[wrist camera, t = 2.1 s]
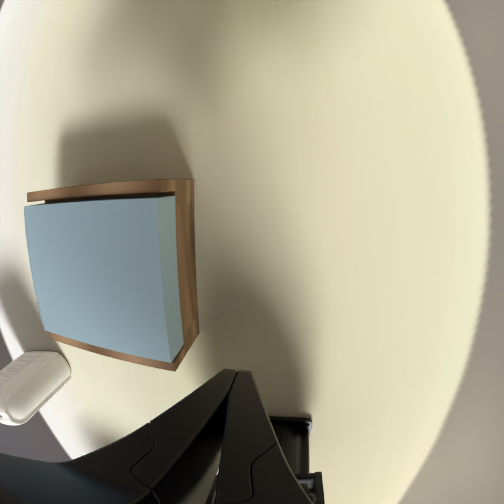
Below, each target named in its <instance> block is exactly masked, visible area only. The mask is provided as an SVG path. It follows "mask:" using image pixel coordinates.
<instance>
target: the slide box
mask: <svg viewBox="0 0 504 504" xmlns="http://www.w3.org/2000/svg"><path fill="white" fill-rule="evenodd" d="M155 196H175V217H176V248H177V268H178V285H179V298H180V311H181V322H182V332H183V342H184V344H183V346H182V347H181V349H180V351H179V352H178V354H177V355H176V357H175V358H174V360H173V361H172V363H169V362H164V361H159V360H154V359H149V358H144V357H139V356H135V355H130V354H126V353H121V352H117V351H113V350H109V349H105V348H102V347H98V346H94V345H90V344H87V343H83V342H80V341H77V340H73V339H70V338H67V337H64V336H60V335H57V334H54V333H51V332H49V335H50V338H51V339H53V340H56V341H59V342H62V343H65V344H68V345H71V346H74V347H77V348H80V349H84V350H87V351H90V352H94V353H97V354H101V355H104V356H108V357H112V358H116V359H120V360H124V361H128V362H132V363H136V364H141V365H145V366H150V367H155V368H159V369H165V370H170V371H176V370H177V368H178V366H179V365H180V363H181V362H182V360H183V358H184V357H185V355H186V353H187V352H188V350H189V348H190V347H191V345H192V344H193V342H194V340H195V339H196V337H197V335H198V334H199V324H198V309H197V291H196V269H195V236H194V180H179V179H155V180H139V181H124V182H112V183H101V184H91V185H82V186H73V187H65V188H57V189H49V190H42V191H36V192H29V193H27V202H32V201H41V200H45V203H53V202H64V201H77V200H91V199H107V198H128V197H155Z"/></svg>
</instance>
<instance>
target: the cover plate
mask: <svg viewBox="0 0 504 504" xmlns="http://www.w3.org/2000/svg"><path fill="white" fill-rule="evenodd" d="M24 215H25V228H26V238H27V247H28V254H29V261H30V267H31V273H32V279H33V284H34V289H35V294H36V298H37V303H38V307H39V311H40V315H41V319H42V323H43V326H44V330H45V331H48V332H51V333H54V334H57V335H60V336H64V337H67V338H70V339H73V340H77V341H80V342H83V343H87V344H90V345H94V346H98V347H102V348H105V349H109V350H113V351H117V352H121V353H126V354H130V355H135V356H139V357H144V358H149V359H154V360H159V361H164V362H169V363H172V361H173V360H174V358H175V357H176V355H177V354H178V352H179V351H180V349H181V347H182V346H183V344H184V342H183V332H182V322H181V311H180V298H179V285H178V268H177V248H176V217H175V196H155V197H128V198H107V199H91V200H77V201H64V202H53V203H43V204H37V205H31V206H25V207H24Z"/></svg>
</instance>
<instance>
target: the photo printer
mask: <svg viewBox="0 0 504 504" xmlns="http://www.w3.org/2000/svg"><path fill="white" fill-rule="evenodd" d="M70 374H71V370H70V367H69V365H68V363H67V362H66V360H65V359H64V358H63V357H62V356H61V355H59V354H58V353H57V352H51V351H30V352H26V353H24V354H22V355H21V356H19V357H18V358H17V359H15V360H14V361H13V362H11V363H10V364H9V365H7V366H6V367H5V368H4V369H2V370H1V371H0V423H3V424H7V425H20V424H23V423H25V422H27V421H28V420H29V419H30V418H31V417H32V416H33V415H34V414H35V413H36V412H37V411H38V410H39V409H40V408H41V407H42V406H43V405H44V404H45V403H46V402H47V401H48V400H49V399H50V398H52V397H53V396H54V395H55V394H56V393H57V392H58V391H59V390H60V389H61V388H62V387H63V386H64V385H65V384H66V383H67V382H68V381H69V380H70V378H71V375H70Z"/></svg>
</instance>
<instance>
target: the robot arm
mask: <svg viewBox="0 0 504 504" xmlns="http://www.w3.org/2000/svg"><path fill="white" fill-rule="evenodd" d="M311 428H312V420H311V419H308V418H282V417H268V414H267V411H266V409H265V406H264V403H263V401H262V398H261V395H260V393H259V390H258V387H257V385H256V382H255V379H254V376H253V374H252V372H251V371H243V370H239V371H237V370H233V369H223V370H222V371H220V372H219V373H218V374H216V375H215V376H214V377H212V378H211V379H210V380H208V381H207V382H206V383H204V384H203V385H202V386H200V387H199V388H198V389H196V390H195V391H193V392H192V393H191V394H189V395H188V396H186V397H185V398H184V399H182V400H181V401H179V402H178V403H176V404H175V405H174V406H172V407H171V408H169V409H168V410H166V411H165V412H163V413H162V414H160V415H159V416H157V417H156V418H154V419H153V420H151V421H150V423H147V424H145V425H144V426H142V427H140V428H139V429H137V430H136V431H134V432H132V433H131V434H129V435H127V436H125V437H123V438H121V439H119V440H117V441H115V442H113V443H111V444H109V445H107V446H105V447H102V448H100V449H98V450H96V451H93V452H91V453H88V454H86V455H84V456H81V457H79V458H76V459H73V460H70V461H66V462H45V461H39V460H33V459H27V458H22V457H17V456H12V455H8V454H4V453H0V504H325V502H324V491H323V482H322V473H321V472H315V473H309V436H310V432H311ZM218 468H219V471H218ZM217 471H218V475H216V474H217ZM215 476H216V477H215Z"/></svg>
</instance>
